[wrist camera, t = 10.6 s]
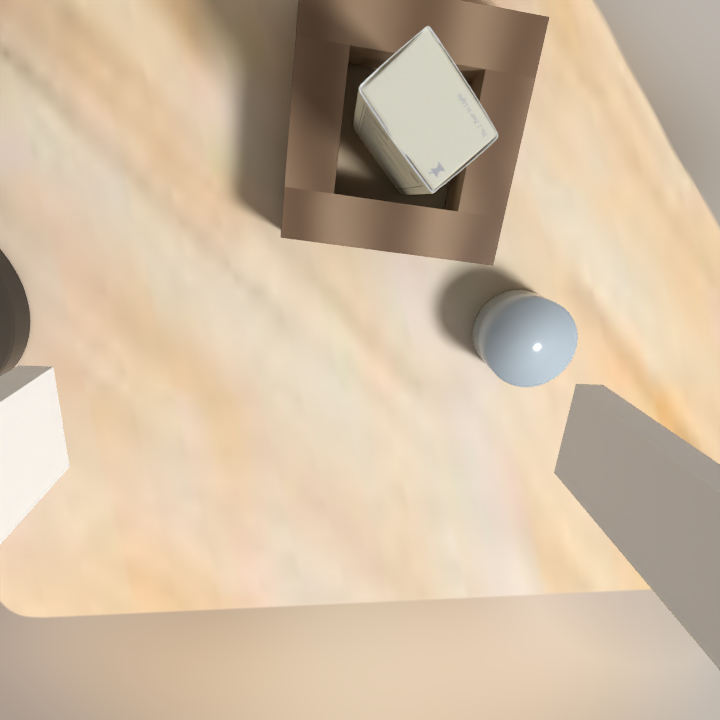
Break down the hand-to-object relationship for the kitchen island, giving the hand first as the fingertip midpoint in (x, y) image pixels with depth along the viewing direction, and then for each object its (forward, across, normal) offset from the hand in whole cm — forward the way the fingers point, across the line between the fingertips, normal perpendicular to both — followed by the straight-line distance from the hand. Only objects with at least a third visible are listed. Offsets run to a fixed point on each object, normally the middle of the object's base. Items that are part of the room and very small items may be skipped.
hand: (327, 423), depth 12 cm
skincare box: (+26, +5, +9) cm, 28 cm away
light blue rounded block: (+26, +16, -4) cm, 31 cm away
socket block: (+26, +5, +9) cm, 28 cm away
